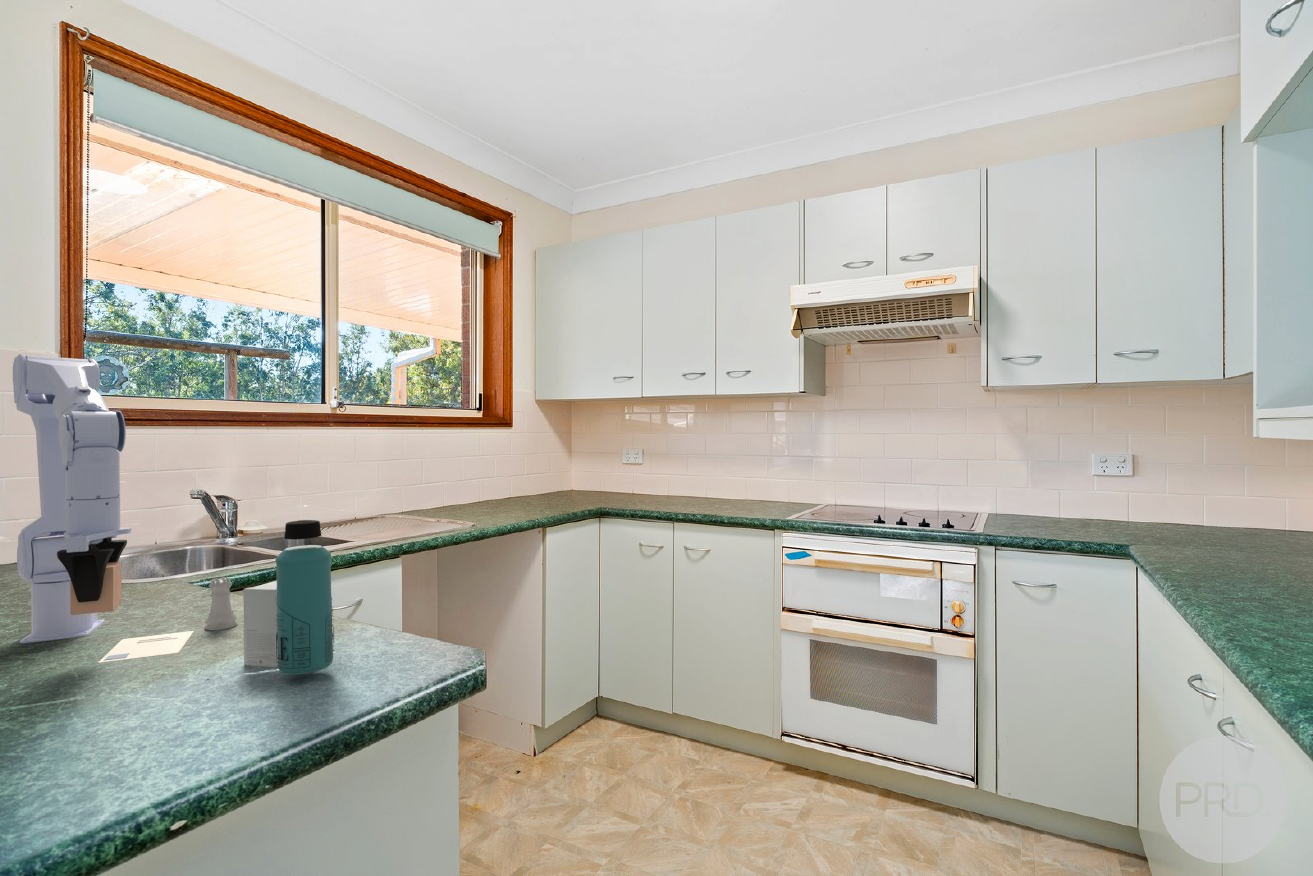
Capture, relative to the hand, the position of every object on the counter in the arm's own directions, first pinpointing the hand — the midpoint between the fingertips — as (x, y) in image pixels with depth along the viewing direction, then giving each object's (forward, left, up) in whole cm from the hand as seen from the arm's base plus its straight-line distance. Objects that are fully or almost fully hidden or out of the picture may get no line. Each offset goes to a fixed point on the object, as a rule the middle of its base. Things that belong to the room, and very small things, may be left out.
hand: (94, 597), depth 91 cm
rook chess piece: (-11, +13, -9) cm, 20 cm away
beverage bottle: (+21, +26, -9) cm, 35 cm away
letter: (-4, +5, -9) cm, 11 cm away
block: (0, 0, -2) cm, 2 cm away
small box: (+11, +23, -9) cm, 27 cm away
